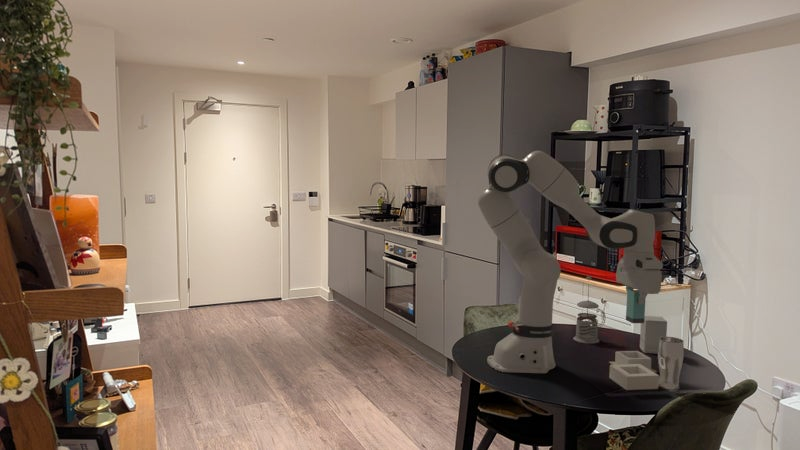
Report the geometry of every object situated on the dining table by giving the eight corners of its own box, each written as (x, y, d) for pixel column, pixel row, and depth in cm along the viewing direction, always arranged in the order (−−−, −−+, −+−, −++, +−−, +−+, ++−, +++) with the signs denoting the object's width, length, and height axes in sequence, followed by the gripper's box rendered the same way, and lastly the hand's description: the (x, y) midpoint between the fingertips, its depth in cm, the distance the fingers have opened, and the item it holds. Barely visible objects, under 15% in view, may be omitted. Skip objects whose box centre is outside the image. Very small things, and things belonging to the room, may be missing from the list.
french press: (570, 335, 222) (572, 273, 219) (599, 336, 221) (602, 274, 219) (576, 343, 212) (579, 278, 210) (607, 343, 211) (611, 278, 209)
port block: (626, 393, 163) (627, 376, 163) (609, 380, 173) (609, 365, 173) (658, 391, 165) (658, 375, 164) (639, 379, 174) (639, 363, 174)
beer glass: (673, 383, 171) (676, 336, 170) (686, 392, 164) (689, 343, 163) (651, 383, 171) (654, 336, 170) (662, 392, 164) (665, 343, 163)
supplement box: (665, 356, 198) (667, 321, 196) (643, 354, 199) (645, 320, 198) (660, 350, 205) (662, 316, 204) (639, 348, 206) (640, 315, 205)
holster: (625, 375, 178) (626, 361, 177) (608, 364, 188) (609, 350, 188) (657, 374, 179) (658, 360, 179) (638, 363, 190) (639, 349, 190)
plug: (632, 323, 179) (634, 292, 178) (625, 320, 183) (627, 290, 182) (644, 323, 179) (645, 292, 178) (637, 319, 183) (638, 289, 182)
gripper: (612, 254, 189) (610, 295, 190) (647, 264, 169) (644, 309, 170) (629, 254, 190) (627, 294, 191) (666, 264, 170) (663, 309, 171)
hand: (635, 301), depth 180 cm, fingers closed on plug, 4 cm apart
